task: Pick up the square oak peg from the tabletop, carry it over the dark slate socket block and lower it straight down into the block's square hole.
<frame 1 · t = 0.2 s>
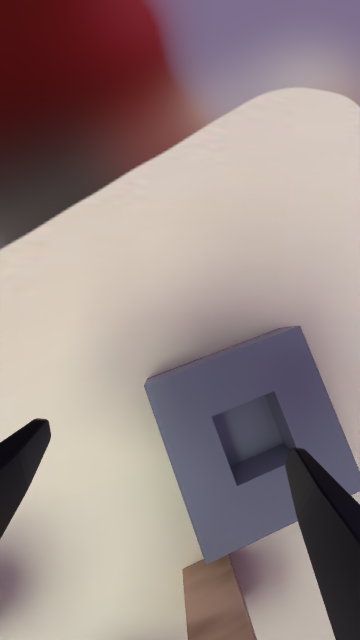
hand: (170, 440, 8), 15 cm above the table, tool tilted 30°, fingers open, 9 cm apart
oak peg: (212, 583, 21), on the table
socket block: (241, 422, 23), on the table
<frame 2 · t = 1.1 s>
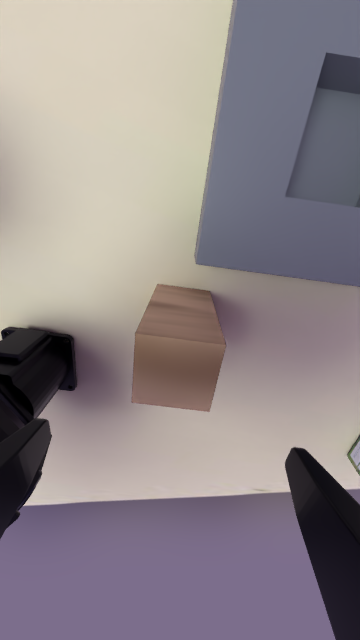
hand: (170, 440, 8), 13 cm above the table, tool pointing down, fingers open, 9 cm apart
oak peg: (180, 311, 20), on the table
socket block: (321, 157, 15), on the table
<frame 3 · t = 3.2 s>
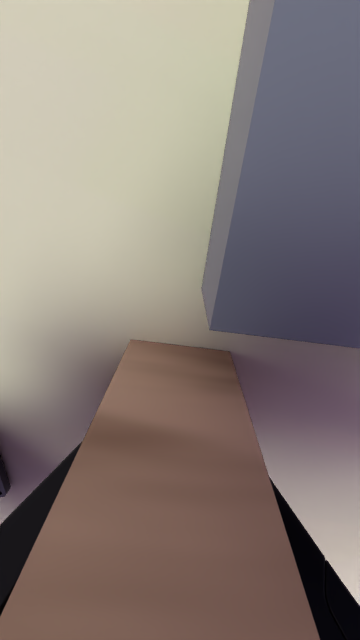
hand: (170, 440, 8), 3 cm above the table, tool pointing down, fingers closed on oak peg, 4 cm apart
oak peg: (174, 384, 11), on the table, touching gripper
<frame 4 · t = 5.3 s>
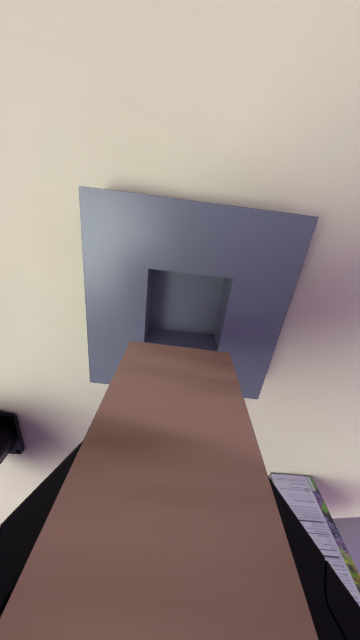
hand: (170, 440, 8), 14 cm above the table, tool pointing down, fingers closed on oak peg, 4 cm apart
syrup box: (283, 484, 31), on the table
oak peg: (174, 385, 11), point 11 cm above the table, touching gripper
socket block: (185, 298, 20), on the table
when the fingers open (5 cm above the table, at t = 7.7 s): oak peg stays where it is, resting on socket block.
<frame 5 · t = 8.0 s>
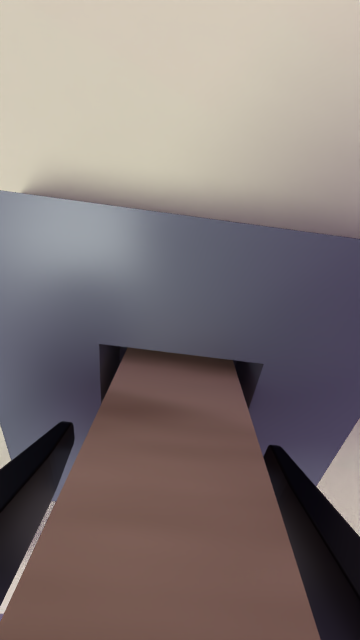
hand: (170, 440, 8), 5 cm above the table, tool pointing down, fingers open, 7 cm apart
oak peg: (176, 372, 12), point 1 cm above the table, touching socket block
socket block: (176, 363, 13), on the table
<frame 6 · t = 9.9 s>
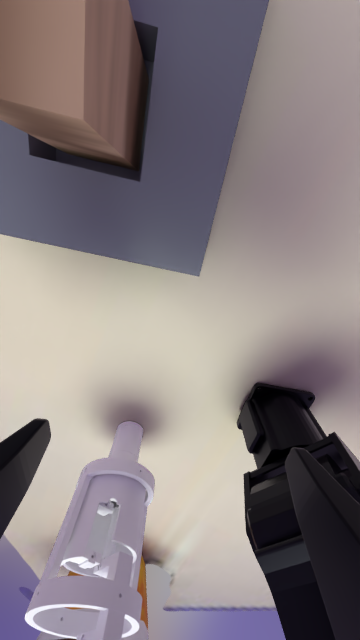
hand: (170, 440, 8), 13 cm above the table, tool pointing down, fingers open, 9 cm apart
windowed cylinder housing: (130, 428, 27), on the table
oak peg: (106, 118, 14), point 1 cm above the table, touching socket block
socket block: (109, 123, 14), on the table
bucket of meat: (110, 551, 41), on the table
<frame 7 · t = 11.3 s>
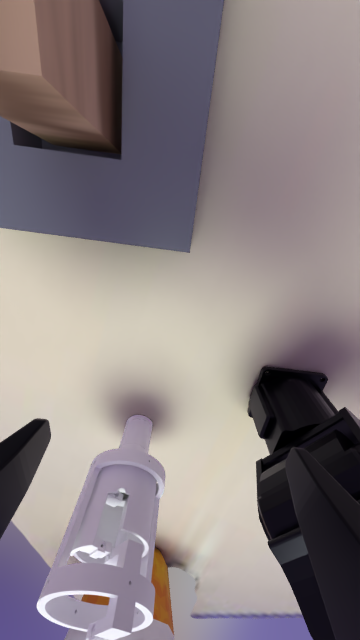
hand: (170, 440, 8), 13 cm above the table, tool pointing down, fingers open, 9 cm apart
windowed cylinder housing: (139, 423, 26), on the table
oak peg: (86, 105, 14), point 1 cm above the table, touching socket block
socket block: (90, 111, 15), on the table
bucket of meat: (131, 553, 40), on the table
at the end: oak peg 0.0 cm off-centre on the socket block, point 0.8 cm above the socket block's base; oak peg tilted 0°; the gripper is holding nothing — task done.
